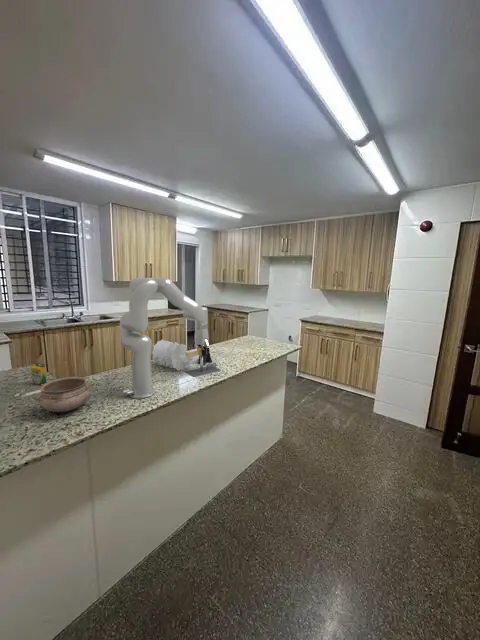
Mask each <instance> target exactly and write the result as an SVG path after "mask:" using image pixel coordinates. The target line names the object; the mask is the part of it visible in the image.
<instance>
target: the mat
mask: <svg viewBox="0 0 480 640" xmlns="http://www.w3.org/2000/svg"><path fill="white" fill-rule="evenodd" d="M216 368H217V369H213V370H209V371H208V370H206V369H207V365H205V366H203V372H200V367H199V368H193V369H189V370H186V371H184V373H186V374H187V375H189V376H190V377H192V378H197V377H200V376H204V375H207V374H211V373H216V372H221V371H222V370H221V369H220V368H218V367H216Z"/></svg>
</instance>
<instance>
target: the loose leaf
mask: <svg viewBox="0 0 480 640" xmlns="http://www.w3.org/2000/svg"><path fill="white" fill-rule="evenodd" d="M202 350H203V349H202V346H198V347H197V346H196V350H194V351H190V352H189V351H188V353H187V355H188V358H190V357H193V358H194V357H199V355H200V356H202Z"/></svg>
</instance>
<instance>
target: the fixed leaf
mask: <svg viewBox="0 0 480 640" xmlns="http://www.w3.org/2000/svg"><path fill="white" fill-rule="evenodd" d="M199 365H200V367H199V368H200V372H203V367H204V365H203V356H200V364H199ZM206 366H207V369H206V370H208V371H209V370H213V369H217V368H218V367H217V362H212V363H208V364H206Z"/></svg>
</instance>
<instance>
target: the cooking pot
mask: <svg viewBox="0 0 480 640" xmlns="http://www.w3.org/2000/svg"><path fill="white" fill-rule="evenodd" d="M87 381H88V379H86V378H85V377H83V376H67V377H60V378H56V379H53V380H49V381H47V383H45V384H43V385H40V390H41V392H40V396H39V397H35V398H34V397H33V398H31V399H30V401H31V402H32V403H36V404H40V405H41V406H42V408H43V409H45V410H47V411H50V412H53V413H60V412H61V414H63V413H64V412H65V413H69V412H72V411H74V410H75V409H77V408H78V407H80V406H81V405H83V404H85V402H86V401H87V400H88V398H89V395H90V391H91V390H93V389H94V388H95V386H96V383H94V382H93V383H91V384H87Z"/></svg>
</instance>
